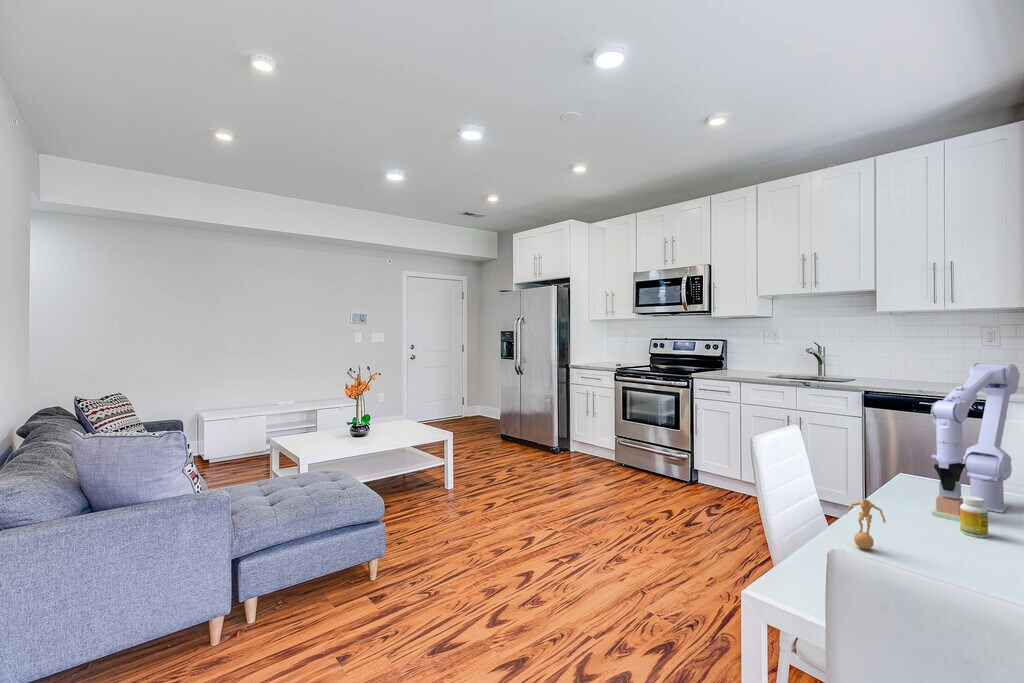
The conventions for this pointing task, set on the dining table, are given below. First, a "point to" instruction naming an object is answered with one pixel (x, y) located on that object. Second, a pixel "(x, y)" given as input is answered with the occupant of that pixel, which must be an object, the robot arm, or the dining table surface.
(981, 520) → the supplement bottle
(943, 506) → the terracotta brick
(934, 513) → the plate
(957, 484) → the slate brick
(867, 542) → the figurine
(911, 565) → the dining table surface
